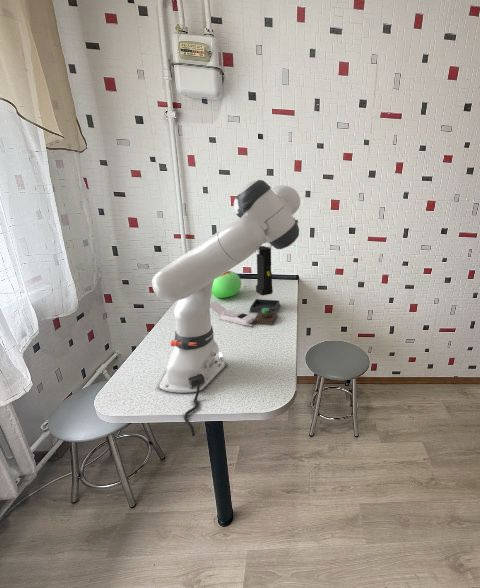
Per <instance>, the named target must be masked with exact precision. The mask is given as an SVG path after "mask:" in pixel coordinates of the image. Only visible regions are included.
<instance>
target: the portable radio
mask: <svg viewBox="0 0 480 588" xmlns="http://www.w3.org/2000/svg"><path fill="white" fill-rule="evenodd" d="M259 250H261V254H256V251H255V252H254V253H255V254H256V281H257V283H256V286H255V292H256V293H257V294H258V295H260V296H269V295H272V294H273V292H274V291H273V290H274V289H273V273H272V248H271V249H270V248H267V246H265V245H261V246H260V247H259Z"/></svg>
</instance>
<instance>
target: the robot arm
mask: <svg viewBox="0 0 480 588" xmlns="http://www.w3.org/2000/svg"><path fill="white" fill-rule="evenodd" d="M300 206H301V197H300V195H299V192H298V191H297V190H296V189H295V188H293V187H292V186H289V185H284V184H282V185H281V184H280V185H275V186H273V187H271V186H270V185H269V184H268V183H267V182H266V181H264V180H262V179H258V180H253V181H250V182H248V183H247V184H245V185H244V186H243V188H242V189H241V191H240V193H238V194H237V195H236V196H235V198H234V201H233V210H234V213H235V215H236V216H237V217H238V219H237V220H234V221H233V222H231V223H229V224H227V225H225V226H224V227H223V228H221V229H220V230H218V231H217V232H215V233H214V234H213V235H211V236H210V237H208V238H207V239H206V240H204V241H203V242H202V243H200V244H198V245H197V246H195V247H193V248H192V249H190V250H189V251H187V252H185V253H184V254H182V255H181V256H179V257H178V258H176V259H174V260H173V261H171V262H170V263H168V264H166V265H165V266H164V267H162V268H161V269H160V270H159V271H157V272H156V273H155V274H154V276H153V277H152V280H151V287H152V290H153V292H154V294H155V295H156V296H157V297H158V298H159V299H160V300H162V301H164V302H167V303H174V302H176V304H175V305H174V308H173V318H174V326H175V332H174V339H171V340H170V342H169V343H170V344H169V345H170V346H171V347H173V349H172V352H171V354H170V357H169V359H168V363H167V364H166V370H165V374H164V375H163V377H162V379H161V380H160V383H159V388H160V389H162V391H166V392H169V393H170V392H171V393H178V394H180V393H181V394H186V393H187V394H188V393H196V394H195V395H194V399H193V403H194V406H193V407H192V408H190V409H189V410H187V411H186V412H185V413H184V416H183V420H184V422H185V423H186V424H187V426H188V427H189V429H190V431H191V432H190V433H191V436H192V437H195V436H196V433H195V428H194V426H193V424H192V423H191V421H189V419H188V415H189V414H190V413H192V412H193V411H195V410H196V409H197V408H198V406H199V403H198V402H197V400H198V397H199V394H200V391H202V390H203V389H205V387H206V386H208V385H209V384H210V383H211V381H213V379H214V378H215V377H216V376H217V375H218V374H219V373H220V372H221V371H222V370H223V369H224V368H225V366H226V364H225V362H224V361H223V360H221V359H222V357H223V353H221V352H220V348H219V345H218V343H217V342H216V341H215V339H214V337H215V335H214V334H215V333H214V329H213V326H212V319H211V308H210V303H211V298H212V294H211V293H212V286H213V282H214V279H216V278H218V277H219V276H221V275H222V274H224V273H225V272H227V271H231V270H232V269H233V268H235V267H236V266H237V265H239V264H240V263H242V262H244V261H245V260H246V259H249V257H250V256H252V255H253V254H254V253H255V251H256V253H255V254H256V255H257V254H261V250H259V247H260V246H263V244H267V246H266V247H267V248H270V249H271V250H272V247H273V248H275V249H276V250H283V249H287V248H288V247H291V246H292V245H293V244H294V243H295V242H296V240H297V239H298V238H299V236H300V228H299V227H300V226H299V225H298V224H299V220H298V219H296V218H295V217H294V215H295V214H296V213H297V212H298V210H299V209H300Z"/></svg>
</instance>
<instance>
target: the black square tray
mask: <svg viewBox="0 0 480 588" xmlns="http://www.w3.org/2000/svg"><path fill="white" fill-rule="evenodd" d="M279 307H280V300H277V299H263V298H261V299H260V298H255V299H254V301H253V302H252V304H251V305H250V307H249V312H250V313H254V314H255V313H256V314H258V312H259V311H260V310H262V308H269V310H272V311H276V312H277V311H278V309H279Z"/></svg>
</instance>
